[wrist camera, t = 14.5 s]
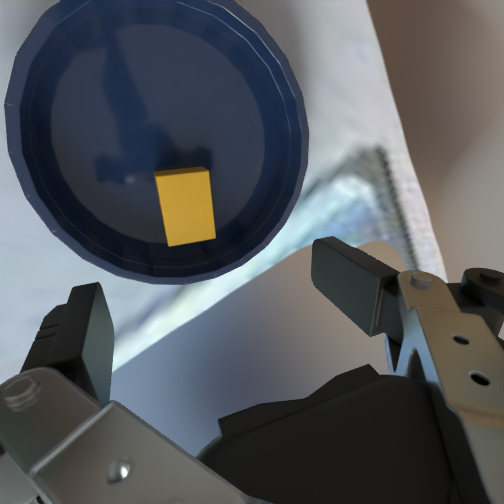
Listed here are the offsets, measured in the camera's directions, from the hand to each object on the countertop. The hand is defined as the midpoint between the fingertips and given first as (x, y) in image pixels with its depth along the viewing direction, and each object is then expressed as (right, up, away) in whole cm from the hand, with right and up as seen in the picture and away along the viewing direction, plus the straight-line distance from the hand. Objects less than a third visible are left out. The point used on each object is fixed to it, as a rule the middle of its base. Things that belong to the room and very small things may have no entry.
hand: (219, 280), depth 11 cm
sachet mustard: (-4, +5, +11) cm, 13 cm away
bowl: (-4, +8, +10) cm, 14 cm away
